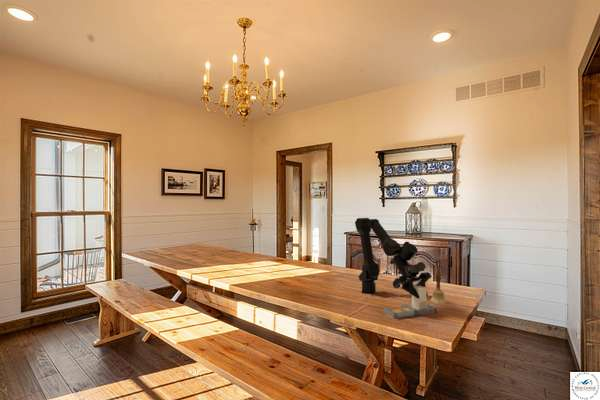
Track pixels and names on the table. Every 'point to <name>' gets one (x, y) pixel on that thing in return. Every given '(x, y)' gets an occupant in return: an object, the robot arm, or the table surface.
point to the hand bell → (438, 290)
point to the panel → (409, 311)
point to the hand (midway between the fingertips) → (422, 297)
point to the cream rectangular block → (422, 301)
